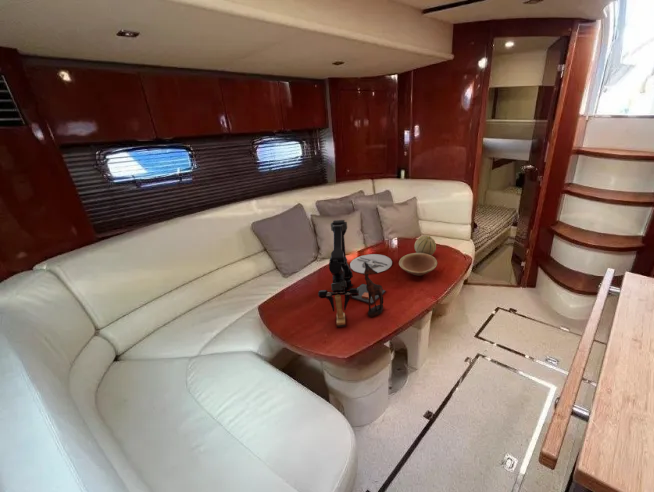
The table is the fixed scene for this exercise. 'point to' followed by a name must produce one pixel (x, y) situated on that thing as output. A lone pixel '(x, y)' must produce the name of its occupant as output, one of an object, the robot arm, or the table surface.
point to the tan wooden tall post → (340, 312)
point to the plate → (371, 263)
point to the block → (365, 295)
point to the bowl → (418, 263)
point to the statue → (373, 292)
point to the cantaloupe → (425, 245)
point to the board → (361, 290)
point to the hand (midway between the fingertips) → (339, 310)
